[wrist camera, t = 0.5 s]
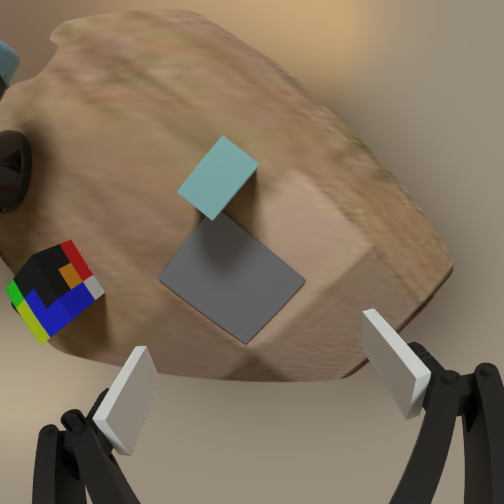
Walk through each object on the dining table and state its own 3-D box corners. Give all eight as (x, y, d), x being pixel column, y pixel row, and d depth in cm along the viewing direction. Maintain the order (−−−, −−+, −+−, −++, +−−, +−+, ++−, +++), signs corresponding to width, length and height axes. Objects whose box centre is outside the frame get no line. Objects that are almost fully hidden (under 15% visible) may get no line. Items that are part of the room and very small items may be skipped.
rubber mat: (159, 277, 38) (158, 278, 38) (214, 205, 36) (214, 205, 36) (245, 341, 41) (245, 343, 40) (304, 279, 39) (305, 280, 38)
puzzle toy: (105, 292, 39) (72, 319, 29) (72, 317, 40) (41, 345, 31) (71, 239, 37) (32, 255, 27) (41, 270, 38) (5, 289, 28)
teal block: (195, 190, 36) (176, 191, 26) (229, 148, 35) (222, 135, 25) (222, 211, 36) (212, 220, 27) (256, 170, 35) (259, 164, 26)
